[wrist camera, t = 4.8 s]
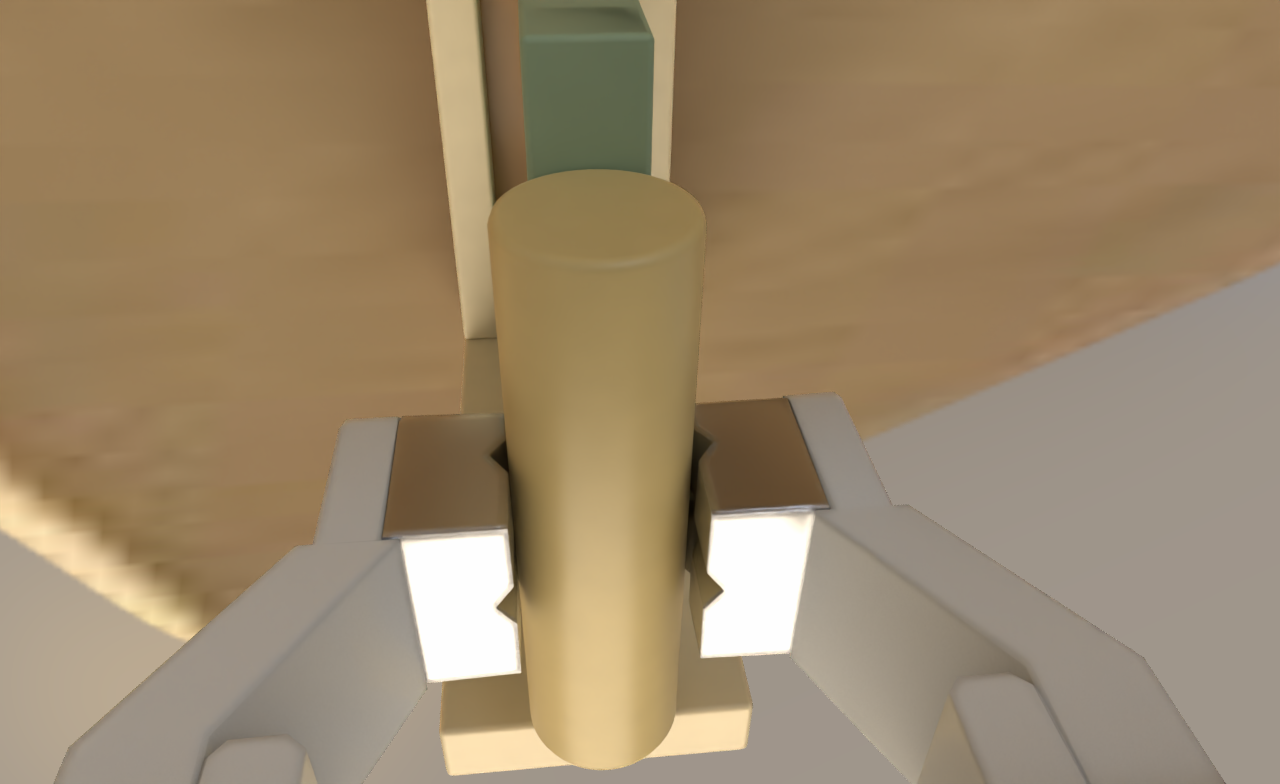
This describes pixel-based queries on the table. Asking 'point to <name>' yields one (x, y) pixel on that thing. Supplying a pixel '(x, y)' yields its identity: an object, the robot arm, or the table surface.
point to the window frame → (476, 178)
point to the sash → (597, 382)
